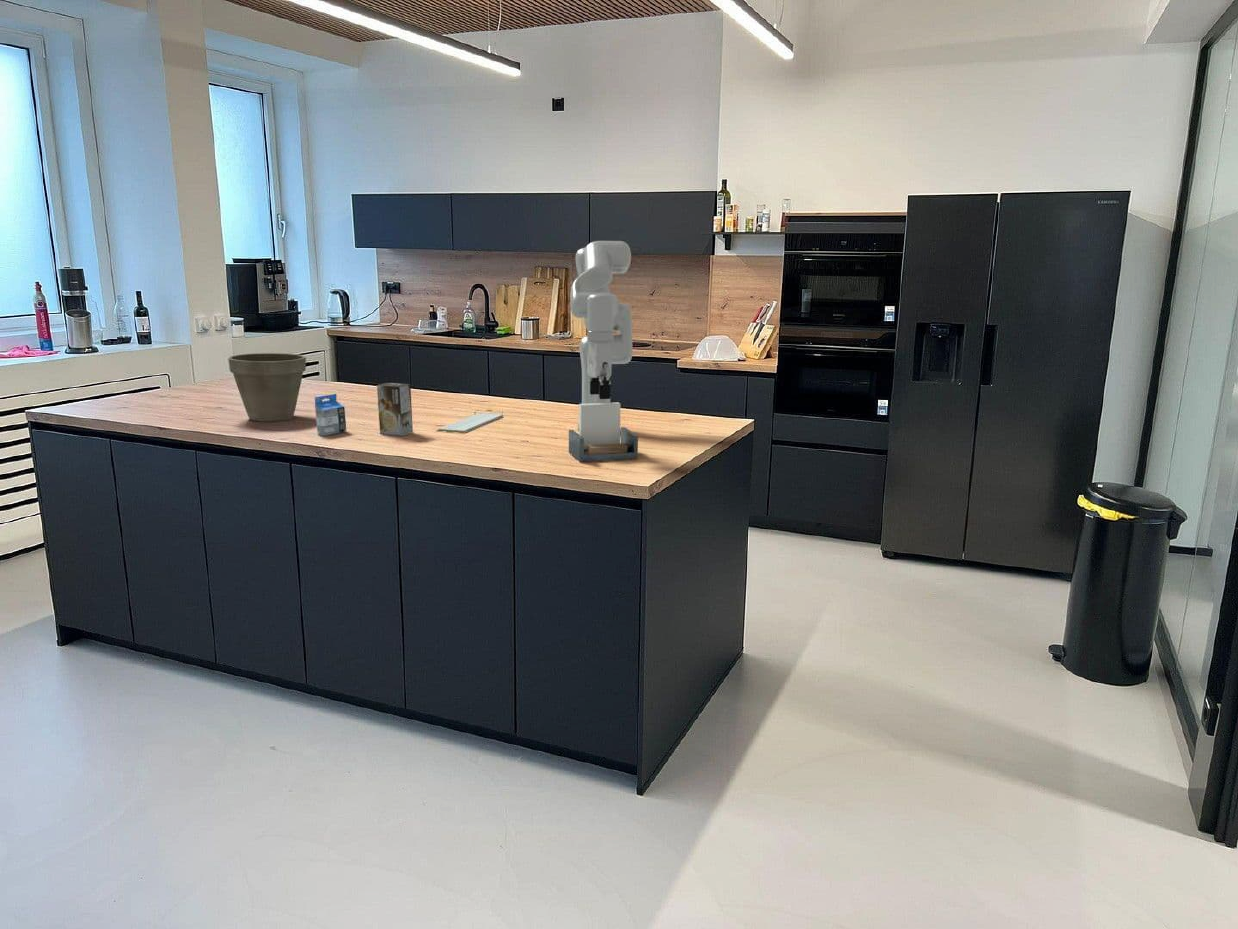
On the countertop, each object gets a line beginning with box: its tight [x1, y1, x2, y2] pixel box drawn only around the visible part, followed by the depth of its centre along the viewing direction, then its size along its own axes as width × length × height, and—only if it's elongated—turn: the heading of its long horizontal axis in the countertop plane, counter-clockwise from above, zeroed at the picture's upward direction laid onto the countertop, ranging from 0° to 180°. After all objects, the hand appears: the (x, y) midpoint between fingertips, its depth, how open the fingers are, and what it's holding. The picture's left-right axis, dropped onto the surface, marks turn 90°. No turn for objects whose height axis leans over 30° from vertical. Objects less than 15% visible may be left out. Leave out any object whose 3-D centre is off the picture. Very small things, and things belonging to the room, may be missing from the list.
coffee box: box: [376, 382, 414, 437], centre depth 280 cm, size 9×6×16 cm
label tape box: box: [314, 393, 347, 437], centre depth 280 cm, size 9×4×12 cm, turn 149°
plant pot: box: [227, 352, 307, 422], centre depth 302 cm, size 25×25×22 cm
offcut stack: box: [584, 442, 628, 455], centre depth 252 cm, size 4×13×4 cm, turn 107°
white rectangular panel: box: [578, 402, 621, 449], centre depth 256 cm, size 2×12×15 cm, turn 108°
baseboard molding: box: [435, 409, 504, 434], centre depth 300 cm, size 31×3×12 cm
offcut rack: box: [568, 426, 639, 463], centre depth 254 cm, size 13×17×7 cm
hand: (599, 396), depth 254 cm, fingers open, 9 cm apart
